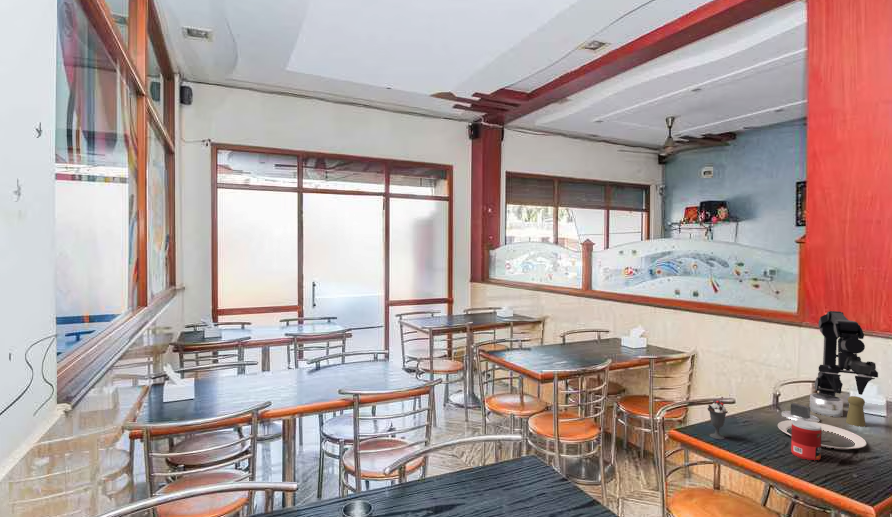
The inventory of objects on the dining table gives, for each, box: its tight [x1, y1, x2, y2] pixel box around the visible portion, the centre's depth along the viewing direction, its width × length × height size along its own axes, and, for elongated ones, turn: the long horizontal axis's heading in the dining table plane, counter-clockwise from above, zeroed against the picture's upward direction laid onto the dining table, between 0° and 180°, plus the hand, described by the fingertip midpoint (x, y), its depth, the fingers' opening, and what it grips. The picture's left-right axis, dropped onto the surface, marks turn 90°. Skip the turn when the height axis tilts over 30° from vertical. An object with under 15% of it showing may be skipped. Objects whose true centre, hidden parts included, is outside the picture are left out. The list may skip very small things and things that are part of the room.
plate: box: [777, 419, 867, 450], centre depth 170 cm, size 26×26×2 cm
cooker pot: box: [809, 392, 844, 418], centre depth 196 cm, size 11×11×7 cm
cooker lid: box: [781, 402, 821, 423], centre depth 190 cm, size 13×13×6 cm
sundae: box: [707, 396, 729, 441], centre depth 169 cm, size 7×7×15 cm
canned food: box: [790, 420, 823, 462], centre depth 154 cm, size 8×8×11 cm
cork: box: [845, 395, 867, 428], centre depth 183 cm, size 6×6×11 cm
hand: (848, 393), depth 177 cm, fingers open, 9 cm apart
